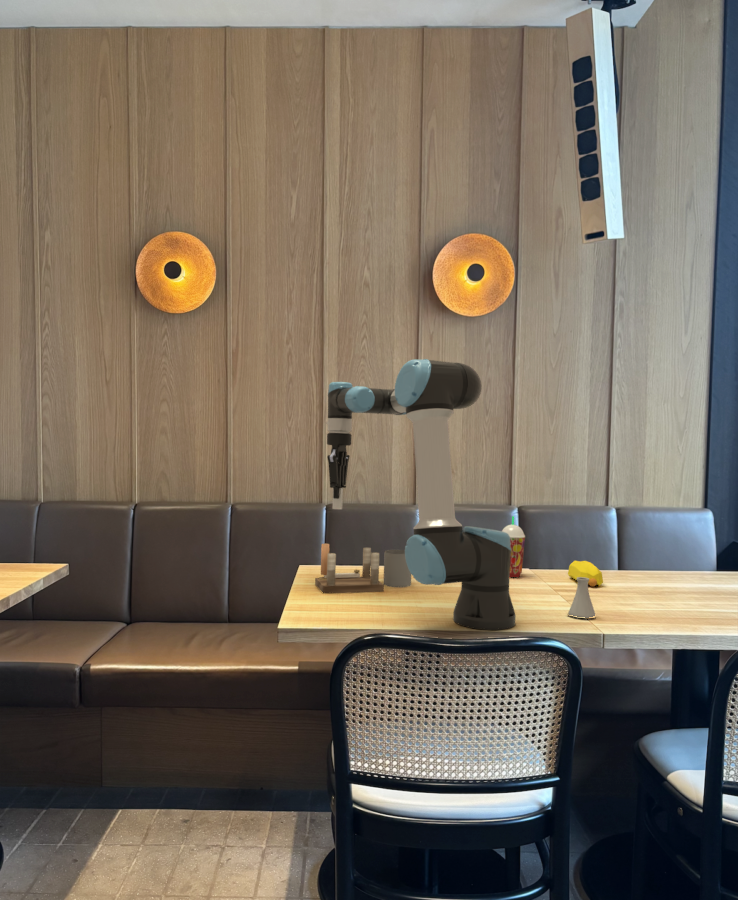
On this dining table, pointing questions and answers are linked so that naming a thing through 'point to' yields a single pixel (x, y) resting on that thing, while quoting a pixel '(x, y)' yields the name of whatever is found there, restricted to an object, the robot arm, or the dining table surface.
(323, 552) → the crank handle
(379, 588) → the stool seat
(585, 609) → the flask
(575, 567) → the yellow lumpy oval
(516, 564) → the smoothie
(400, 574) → the cup
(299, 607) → the dining table surface
